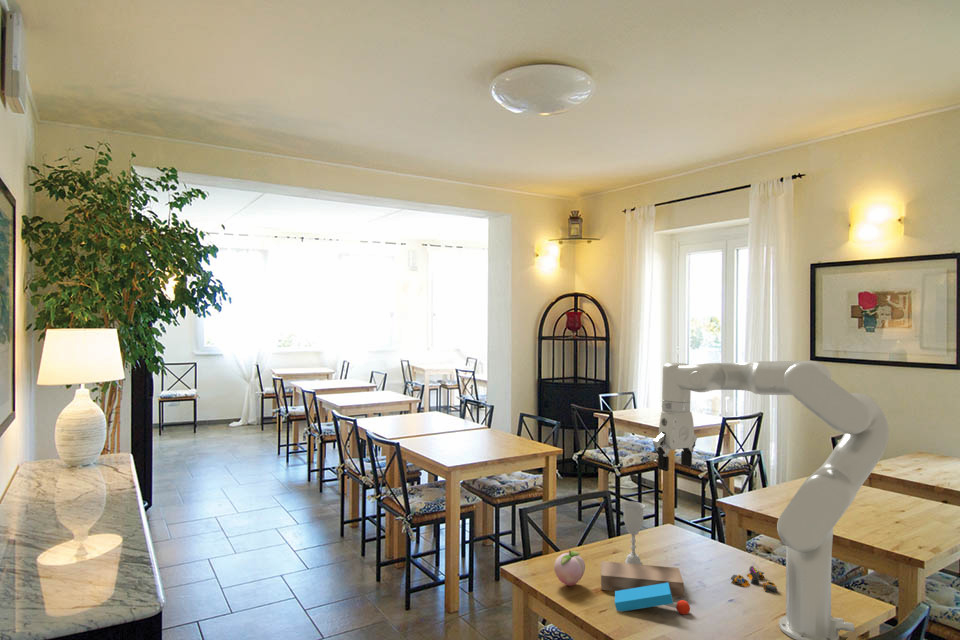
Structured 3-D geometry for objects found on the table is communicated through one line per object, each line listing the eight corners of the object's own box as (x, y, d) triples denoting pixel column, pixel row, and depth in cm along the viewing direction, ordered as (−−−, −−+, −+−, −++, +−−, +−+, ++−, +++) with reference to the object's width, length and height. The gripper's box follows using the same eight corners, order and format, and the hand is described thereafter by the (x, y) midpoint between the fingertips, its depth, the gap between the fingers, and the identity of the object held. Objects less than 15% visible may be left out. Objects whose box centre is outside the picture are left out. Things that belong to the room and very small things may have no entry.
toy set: (758, 599, 157) (758, 581, 157) (726, 582, 168) (726, 565, 168) (790, 592, 162) (790, 575, 162) (757, 576, 172) (757, 560, 172)
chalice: (617, 559, 182) (617, 502, 182) (634, 556, 185) (634, 500, 185) (632, 568, 175) (632, 509, 176) (649, 565, 178) (649, 506, 179)
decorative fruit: (561, 576, 170) (562, 542, 170) (588, 582, 165) (588, 548, 166) (548, 588, 162) (548, 552, 162) (576, 595, 157) (576, 559, 157)
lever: (622, 629, 149) (693, 619, 145) (614, 602, 149) (685, 591, 145) (622, 617, 155) (690, 606, 151) (615, 591, 156) (682, 580, 152)
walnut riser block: (678, 581, 167) (678, 567, 167) (683, 597, 157) (683, 582, 157) (600, 574, 171) (600, 561, 171) (601, 589, 161) (601, 575, 161)
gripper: (666, 410, 154) (664, 474, 154) (707, 406, 163) (706, 467, 163) (644, 407, 160) (643, 468, 160) (685, 403, 169) (684, 461, 169)
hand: (674, 467), depth 161 cm, fingers open, 9 cm apart
